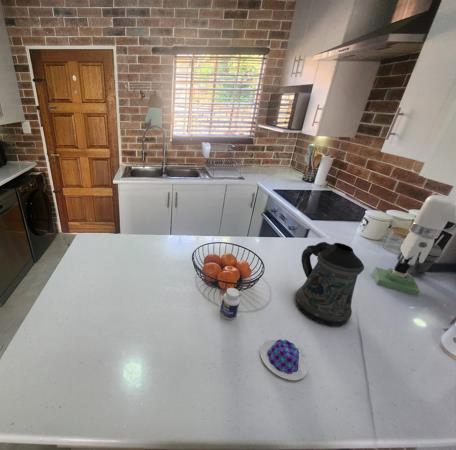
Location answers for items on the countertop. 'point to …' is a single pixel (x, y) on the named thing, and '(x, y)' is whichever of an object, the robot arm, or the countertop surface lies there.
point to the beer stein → (328, 283)
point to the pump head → (399, 274)
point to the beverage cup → (425, 261)
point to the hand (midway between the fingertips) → (399, 271)
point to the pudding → (283, 359)
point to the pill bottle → (230, 304)
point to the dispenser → (395, 281)
